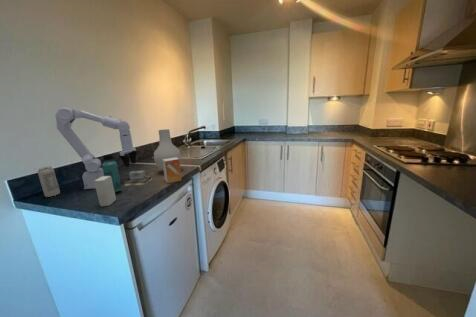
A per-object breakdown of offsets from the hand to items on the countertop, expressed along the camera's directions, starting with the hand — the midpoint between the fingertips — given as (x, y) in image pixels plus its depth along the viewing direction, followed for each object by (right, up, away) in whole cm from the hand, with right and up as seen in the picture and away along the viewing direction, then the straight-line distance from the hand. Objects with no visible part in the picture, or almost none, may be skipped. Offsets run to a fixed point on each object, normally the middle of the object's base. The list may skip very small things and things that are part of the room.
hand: (130, 164), depth 120 cm
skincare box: (+5, -17, -29) cm, 34 cm away
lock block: (+7, -9, -4) cm, 12 cm away
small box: (+27, -9, -3) cm, 28 cm away
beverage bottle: (+1, -14, -17) cm, 22 cm away
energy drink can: (-31, -16, -17) cm, 38 cm away
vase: (+18, -5, +15) cm, 24 cm away
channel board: (+7, -10, -4) cm, 13 cm away
